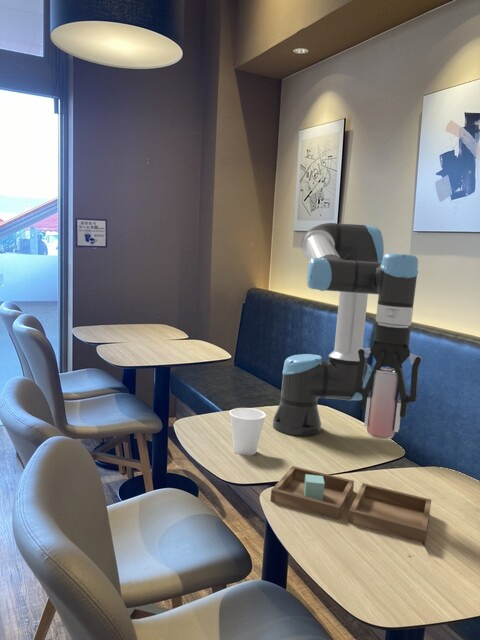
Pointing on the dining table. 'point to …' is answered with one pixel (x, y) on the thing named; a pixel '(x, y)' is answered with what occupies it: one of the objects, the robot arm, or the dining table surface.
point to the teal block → (314, 487)
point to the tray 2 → (391, 512)
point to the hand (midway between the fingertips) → (381, 427)
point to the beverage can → (383, 403)
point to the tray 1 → (293, 495)
